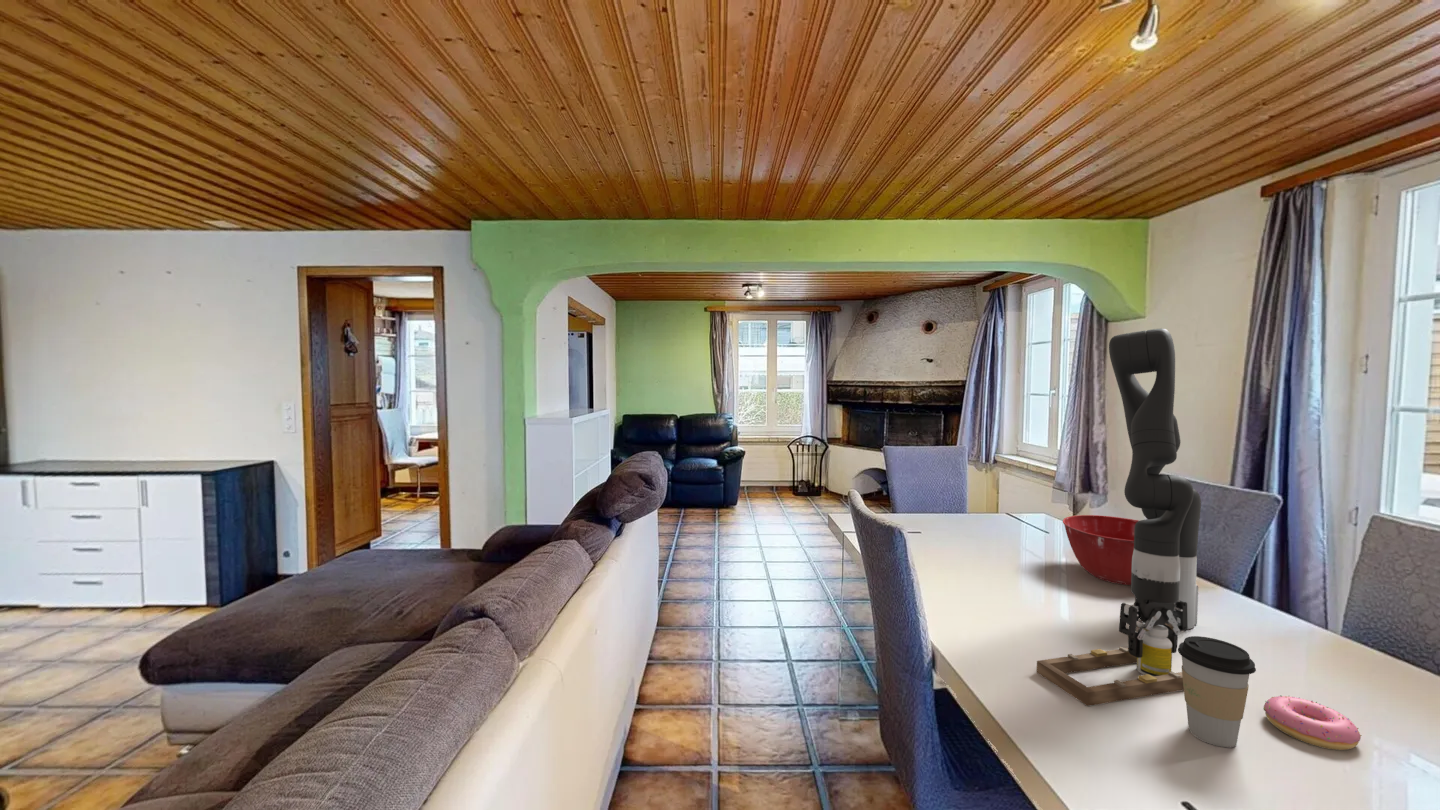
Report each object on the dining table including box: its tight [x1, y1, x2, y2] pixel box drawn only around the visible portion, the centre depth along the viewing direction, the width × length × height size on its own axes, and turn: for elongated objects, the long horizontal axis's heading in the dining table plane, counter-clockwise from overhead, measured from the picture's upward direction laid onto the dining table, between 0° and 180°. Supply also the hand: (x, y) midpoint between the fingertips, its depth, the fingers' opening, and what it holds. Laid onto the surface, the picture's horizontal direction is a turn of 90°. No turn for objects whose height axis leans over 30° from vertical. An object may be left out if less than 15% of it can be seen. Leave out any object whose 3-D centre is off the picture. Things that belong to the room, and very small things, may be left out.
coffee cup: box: [1177, 635, 1257, 748], centre depth 89 cm, size 9×9×15 cm
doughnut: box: [1262, 695, 1362, 751], centre depth 90 cm, size 11×11×4 cm
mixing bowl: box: [1062, 514, 1140, 586], centre depth 161 cm, size 28×28×16 cm
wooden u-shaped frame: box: [1036, 646, 1184, 707], centre depth 106 cm, size 28×12×3 cm, turn 103°
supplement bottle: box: [1136, 622, 1173, 677], centre depth 108 cm, size 5×5×10 cm
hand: (1152, 653), depth 108 cm, fingers open, 8 cm apart
